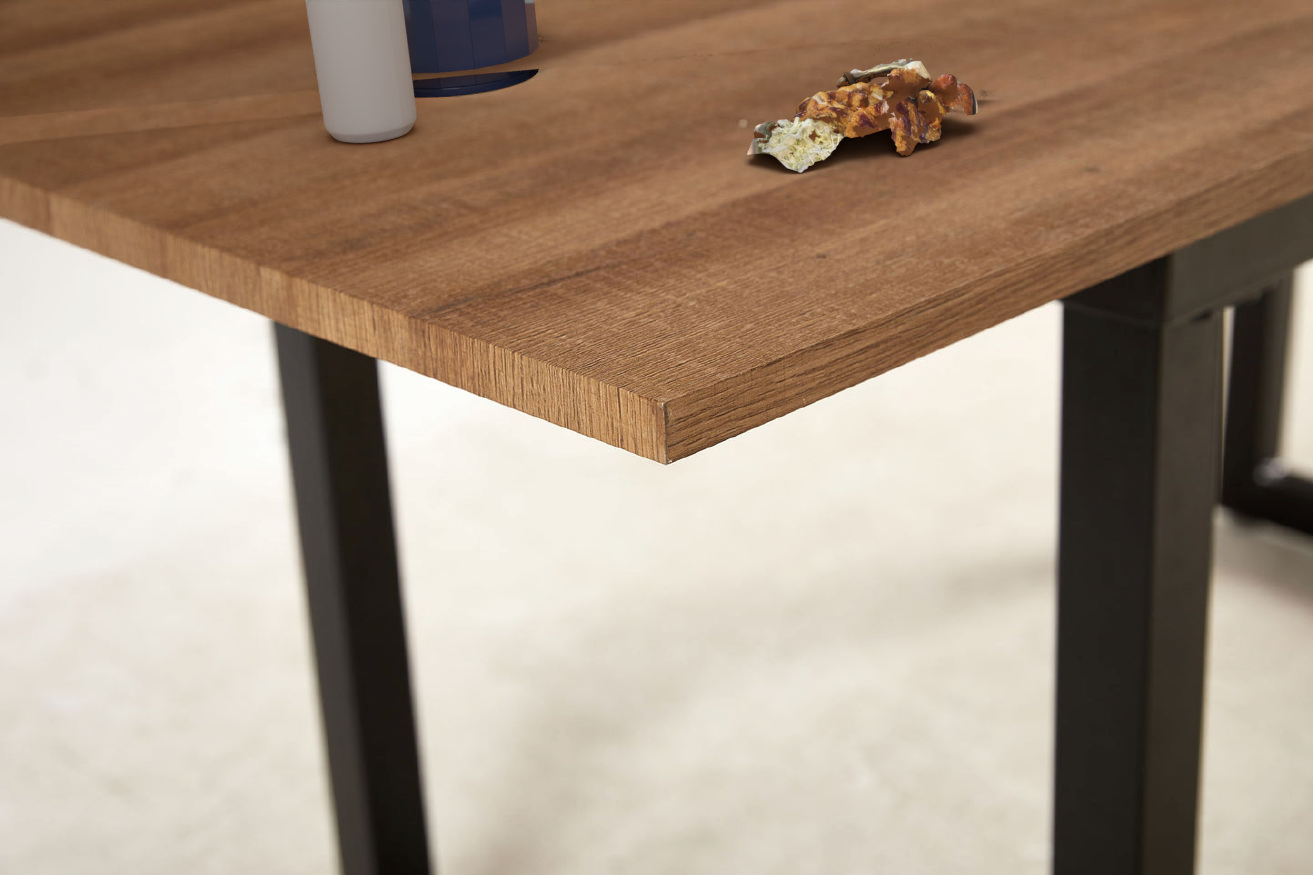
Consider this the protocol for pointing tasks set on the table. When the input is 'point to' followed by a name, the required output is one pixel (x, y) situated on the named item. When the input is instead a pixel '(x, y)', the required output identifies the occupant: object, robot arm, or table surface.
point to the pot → (468, 43)
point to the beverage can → (362, 68)
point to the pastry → (866, 113)
